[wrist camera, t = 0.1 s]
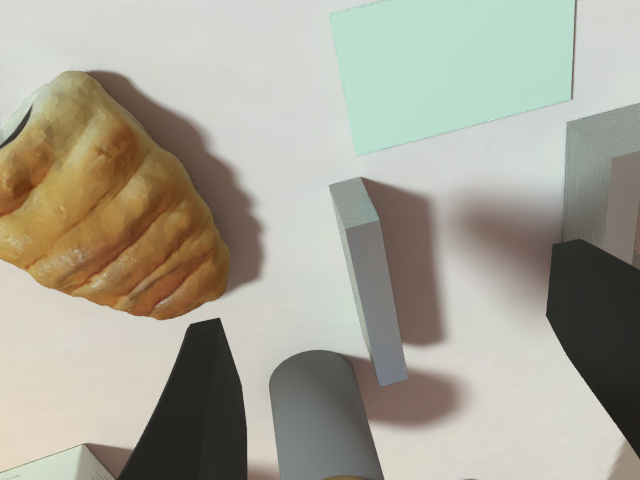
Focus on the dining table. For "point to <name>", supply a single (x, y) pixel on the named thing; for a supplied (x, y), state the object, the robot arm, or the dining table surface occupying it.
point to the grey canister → (321, 420)
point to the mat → (449, 64)
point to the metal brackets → (578, 223)
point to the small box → (61, 467)
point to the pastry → (104, 206)
